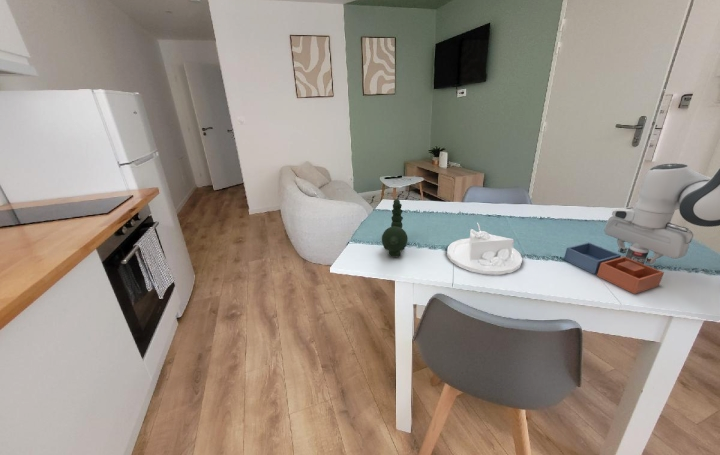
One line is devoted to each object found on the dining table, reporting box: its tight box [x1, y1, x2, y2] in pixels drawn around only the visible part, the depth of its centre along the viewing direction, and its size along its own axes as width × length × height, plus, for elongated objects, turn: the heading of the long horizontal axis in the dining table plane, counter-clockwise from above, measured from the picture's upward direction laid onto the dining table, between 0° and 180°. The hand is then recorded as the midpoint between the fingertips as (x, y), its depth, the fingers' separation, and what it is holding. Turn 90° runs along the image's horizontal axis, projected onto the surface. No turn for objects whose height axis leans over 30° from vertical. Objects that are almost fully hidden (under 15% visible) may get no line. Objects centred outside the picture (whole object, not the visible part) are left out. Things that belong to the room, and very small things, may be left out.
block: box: [616, 261, 645, 279], centre depth 86 cm, size 4×4×4 cm
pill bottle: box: [625, 243, 650, 265], centre depth 93 cm, size 5×5×8 cm
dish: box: [446, 222, 523, 276], centre depth 102 cm, size 25×25×11 cm
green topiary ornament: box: [381, 198, 409, 258], centre depth 110 cm, size 9×19×25 cm
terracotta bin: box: [596, 256, 665, 295], centre depth 86 cm, size 10×10×5 cm
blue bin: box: [563, 241, 622, 275], centre depth 96 cm, size 10×10×5 cm
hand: (635, 257), depth 93 cm, fingers open, 6 cm apart
